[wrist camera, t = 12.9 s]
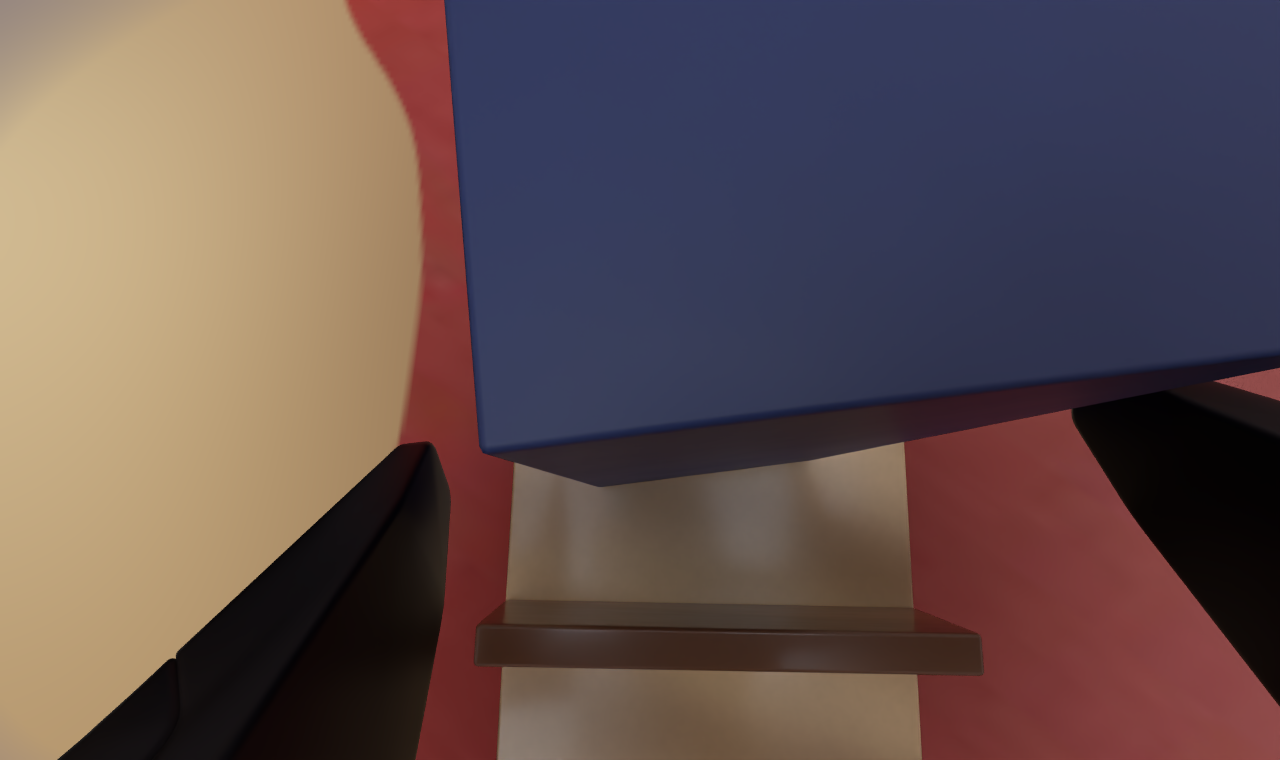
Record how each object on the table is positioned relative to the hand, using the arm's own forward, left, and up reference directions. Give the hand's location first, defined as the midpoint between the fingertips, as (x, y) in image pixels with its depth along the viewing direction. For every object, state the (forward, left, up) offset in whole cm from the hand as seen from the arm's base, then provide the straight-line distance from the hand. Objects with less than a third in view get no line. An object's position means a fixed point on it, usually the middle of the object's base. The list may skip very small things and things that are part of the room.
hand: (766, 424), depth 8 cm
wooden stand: (-2, 0, -12) cm, 12 cm away
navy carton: (+2, 0, -7) cm, 8 cm away
